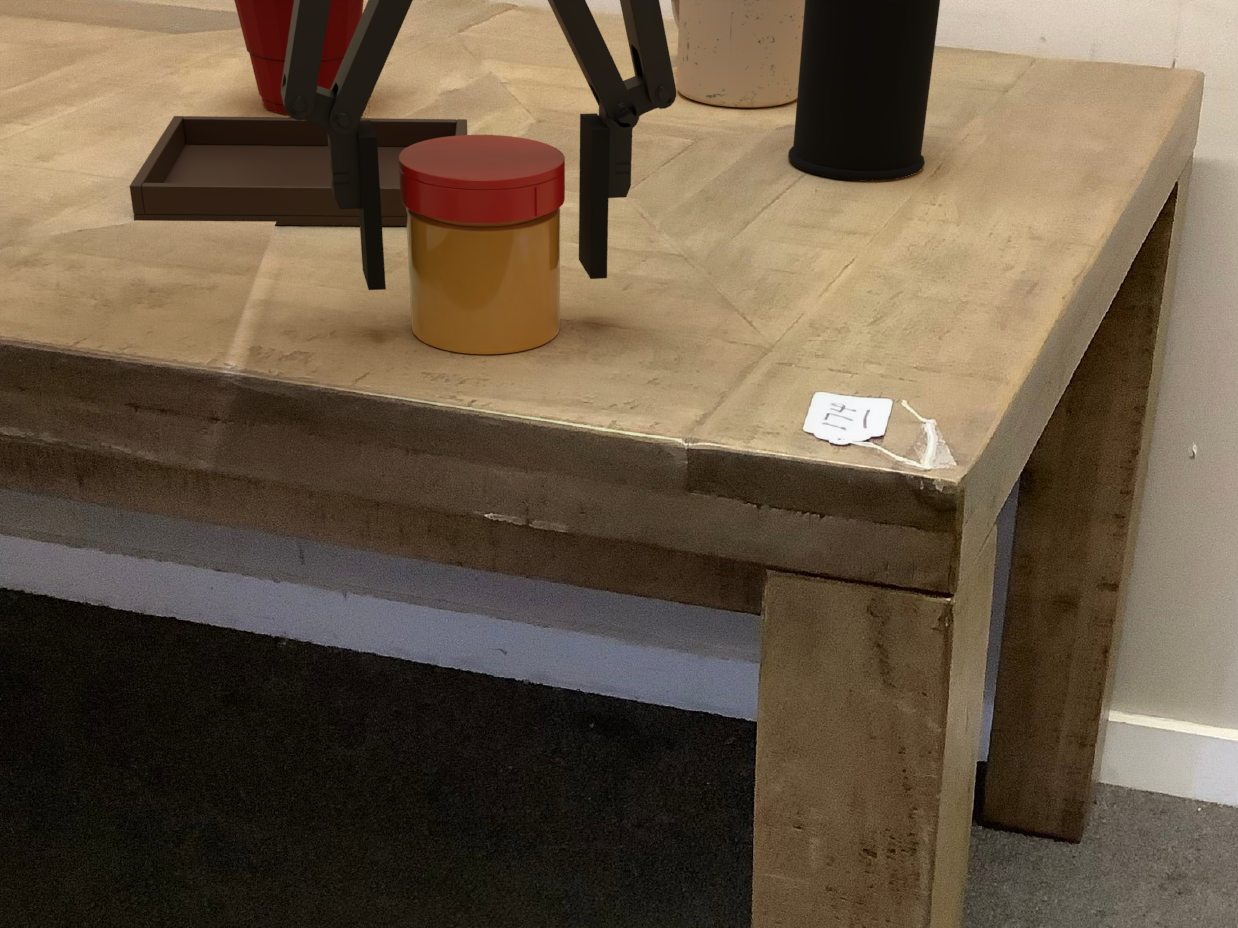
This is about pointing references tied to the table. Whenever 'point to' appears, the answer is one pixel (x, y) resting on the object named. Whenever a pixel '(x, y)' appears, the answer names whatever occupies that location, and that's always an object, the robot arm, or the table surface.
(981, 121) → the table surface
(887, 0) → the aerosol can
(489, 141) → the cap
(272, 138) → the tray
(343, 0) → the plastic cup
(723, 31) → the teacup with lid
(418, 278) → the jar
